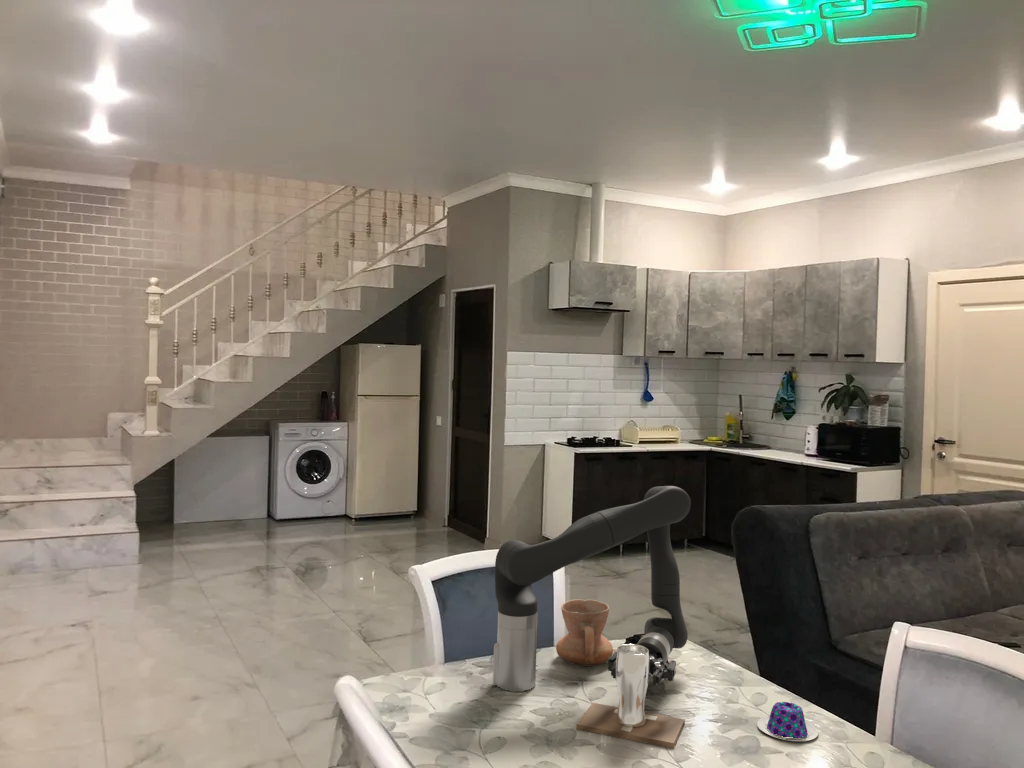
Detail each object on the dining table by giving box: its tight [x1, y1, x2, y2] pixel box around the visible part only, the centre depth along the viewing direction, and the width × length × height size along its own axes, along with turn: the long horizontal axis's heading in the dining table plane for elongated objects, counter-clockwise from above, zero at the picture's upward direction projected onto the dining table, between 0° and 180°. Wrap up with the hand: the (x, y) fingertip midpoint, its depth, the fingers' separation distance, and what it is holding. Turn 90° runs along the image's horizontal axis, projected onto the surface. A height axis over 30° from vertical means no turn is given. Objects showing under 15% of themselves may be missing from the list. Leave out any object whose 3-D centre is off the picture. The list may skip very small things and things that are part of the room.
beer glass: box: [615, 643, 650, 727], centre depth 166 cm, size 7×7×15 cm
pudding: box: [756, 701, 819, 742], centre depth 166 cm, size 12×12×5 cm
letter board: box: [575, 702, 686, 749], centre depth 166 cm, size 20×12×1 cm, turn 68°
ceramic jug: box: [555, 598, 614, 667], centre depth 203 cm, size 18×14×14 cm
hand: (634, 677), depth 167 cm, fingers open, 8 cm apart
